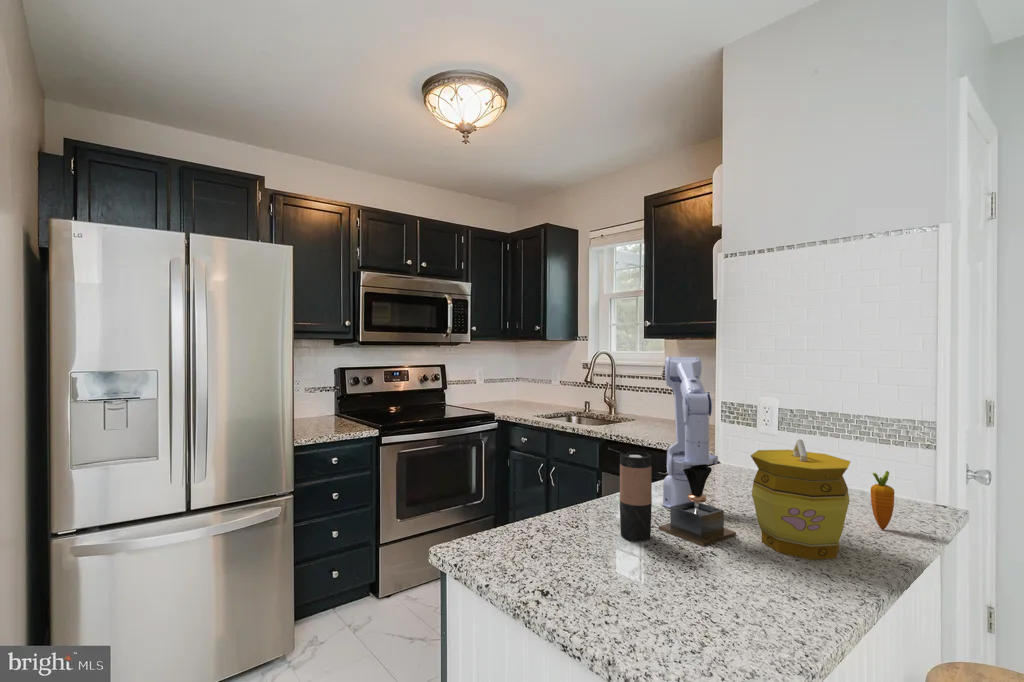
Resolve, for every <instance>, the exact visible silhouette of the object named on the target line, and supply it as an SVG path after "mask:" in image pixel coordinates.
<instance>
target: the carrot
mask: <svg viewBox="0 0 1024 682" xmlns="http://www.w3.org/2000/svg"><path fill="white" fill-rule="evenodd" d="M872 475H873V477H874V478H875V480H876V482H877V483H876V484H873V485H872V486H871V487H870V504H871V507H872V508H871V509H872V510H871V511H872V514H873V518H874V519H875V521H876V523H877V525H878V527H879V528H880V529H881V531H885V529H887V527H888V525H889V524H890V522H891V519H892V517H893V513H894V507H895V489H894V488H893V487H891V486H890V485H887V482H888V480H889V476H890V471H888V470H886V471H885V473H884V474H883V476H880V477H879V475H878V474H877V473H876V472H872Z"/></svg>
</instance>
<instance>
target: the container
mask: <svg viewBox="0 0 1024 682" xmlns="http://www.w3.org/2000/svg"><path fill="white" fill-rule="evenodd" d="M750 457H751V459H752V461H753V462H754V464H755V465H756V467H757V472H756V474H755V476H754V479H753V482H752V488H751V489H752V490H751V496H752V499H753V504H754V510H755V514H756V520H757V523H758V526H759V529H760V532H761V543H762V544H763V543H764V545H765V546H767V547H768V548H770V549H771V548H772V550H773V551H775V552H776V553H778V554H781V555H785V556H790V557H794V558H798V559H802V558H803V560H807V561H823V560H824V561H826V560H837V558H838V555H839V551H840V539H841V537H842V534H843V530H844V527H845V521H846V516H847V513H848V510H849V505H850V502H851V501H850V494H849V487H848V485H847V483H846V480H845V478H844V476H843V475H844V474H845V473H846V471H847V470H848V468H849V466H850V464H851V460H847V459H845V458H840V457H837V456H833V455H830V454H826V453H821V452H813V451H812V452H811V451H807V450H806V447H805V443H804V441H803V439H800V438H799V439H797V440H796V442H795V445H794V447H793V450H792V449H762V450H761V449H760V450H759V449H758V450H756V451H754V452H753V453H752V454H751V455H750Z"/></svg>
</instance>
